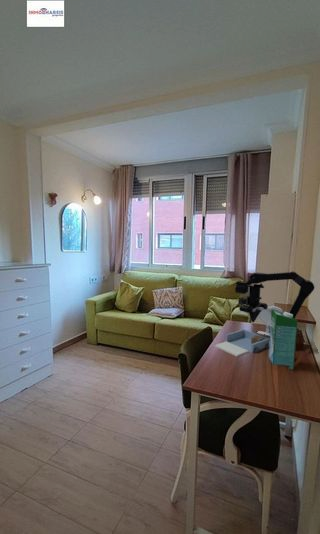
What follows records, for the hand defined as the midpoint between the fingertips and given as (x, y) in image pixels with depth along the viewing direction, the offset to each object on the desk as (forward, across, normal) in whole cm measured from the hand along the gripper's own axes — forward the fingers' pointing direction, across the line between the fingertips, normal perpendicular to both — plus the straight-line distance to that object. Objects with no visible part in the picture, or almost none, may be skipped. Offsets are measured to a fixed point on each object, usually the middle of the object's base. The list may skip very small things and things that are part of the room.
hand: (252, 322), depth 141 cm
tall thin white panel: (+10, +16, +2) cm, 19 cm away
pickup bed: (+12, +7, +2) cm, 14 cm away
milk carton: (+12, +11, +23) cm, 28 cm away
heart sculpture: (+12, -21, -3) cm, 24 cm away
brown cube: (+10, +5, +6) cm, 13 cm away
